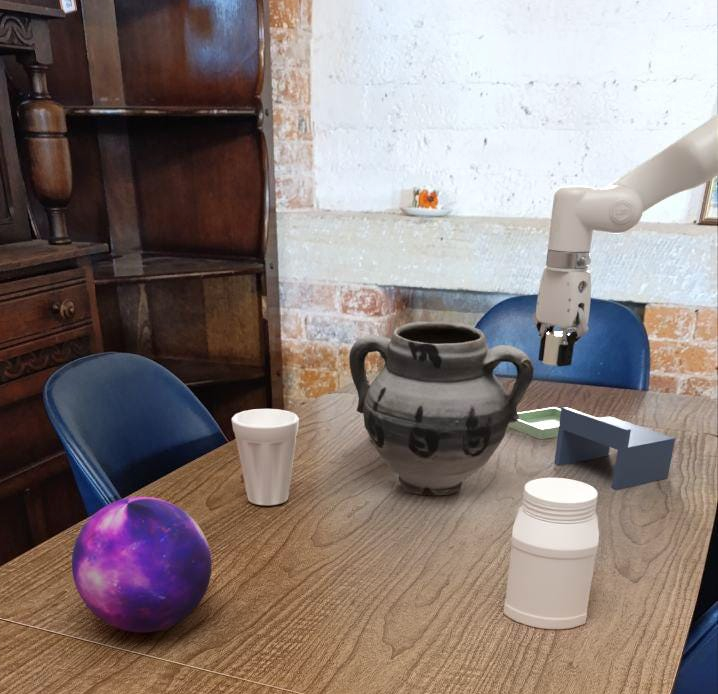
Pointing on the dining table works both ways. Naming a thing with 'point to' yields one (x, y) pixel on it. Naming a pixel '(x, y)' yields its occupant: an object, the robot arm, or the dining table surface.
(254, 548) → the dining table surface
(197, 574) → the decorative orb
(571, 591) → the jar
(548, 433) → the tray
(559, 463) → the stand
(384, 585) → the dining table surface
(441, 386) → the ceramic pot
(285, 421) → the cup
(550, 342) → the canister
